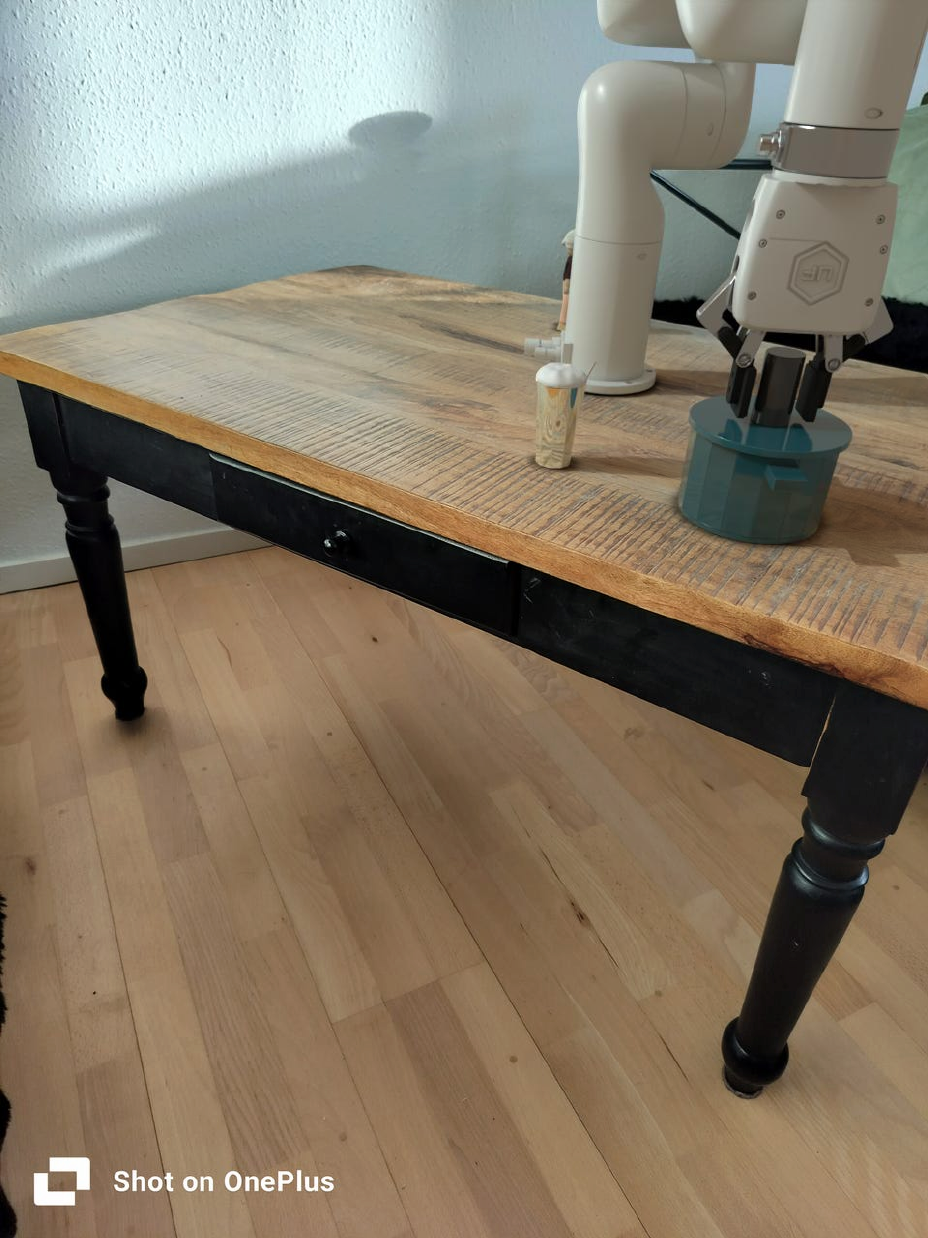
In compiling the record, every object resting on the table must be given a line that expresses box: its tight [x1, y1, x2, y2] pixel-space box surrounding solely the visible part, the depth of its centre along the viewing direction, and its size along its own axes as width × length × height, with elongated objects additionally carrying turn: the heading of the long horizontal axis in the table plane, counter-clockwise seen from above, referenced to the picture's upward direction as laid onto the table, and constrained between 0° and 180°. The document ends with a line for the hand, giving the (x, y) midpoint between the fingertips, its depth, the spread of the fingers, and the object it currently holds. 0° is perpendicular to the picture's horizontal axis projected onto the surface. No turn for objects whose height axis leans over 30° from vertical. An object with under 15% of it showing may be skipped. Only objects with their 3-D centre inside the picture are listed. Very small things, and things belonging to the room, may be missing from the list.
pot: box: [677, 426, 841, 545], centre depth 72 cm, size 12×17×8 cm
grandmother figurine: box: [556, 228, 575, 332], centre depth 117 cm, size 8×4×13 cm, turn 179°
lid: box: [688, 346, 854, 459], centre depth 68 cm, size 13×13×7 cm
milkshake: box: [535, 362, 596, 470], centre depth 78 cm, size 4×5×10 cm
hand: (771, 411), depth 69 cm, fingers open, 4 cm apart
